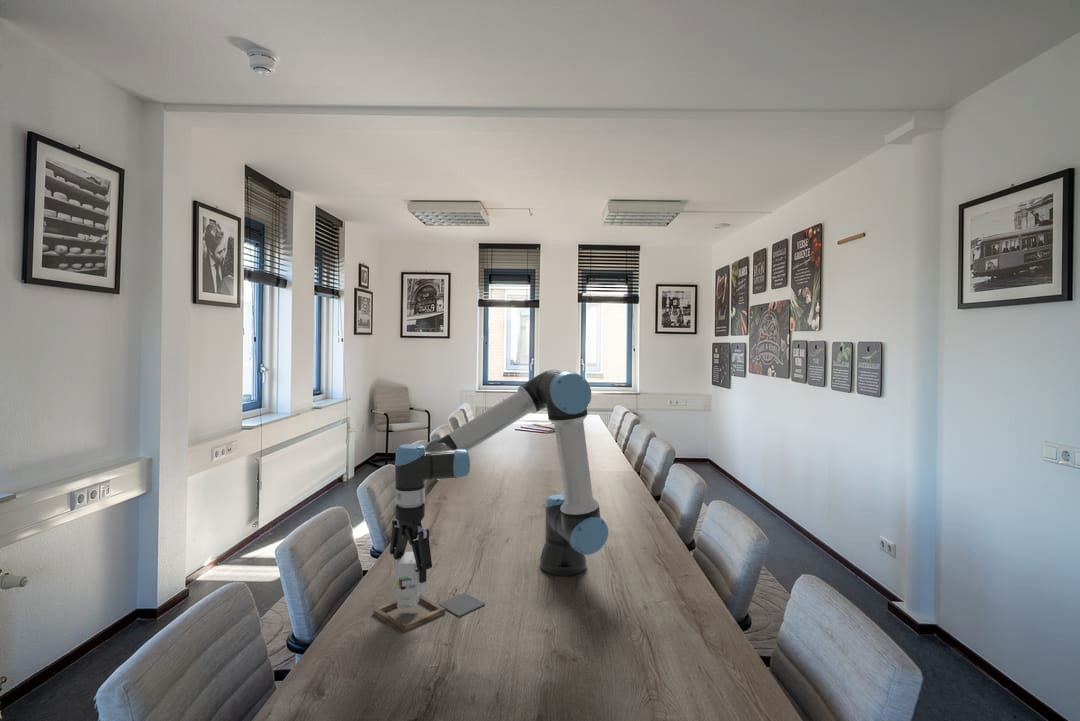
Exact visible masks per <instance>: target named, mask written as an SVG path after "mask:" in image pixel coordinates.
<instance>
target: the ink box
mask: <svg viewBox="0 0 1080 721" xmlns="http://www.w3.org/2000/svg"><path fill="white" fill-rule="evenodd" d="M404 553H405V554H404V555H403V556H402V558H401V559H400V561H399V562H398V563H397V584H396V598H397V599H396V600H397V607H396V608H397V609H416V607H417V606H418V603H419V599H420V597H421V595H422V596H423V594H421V595H418V596H416V595H415V570H417V565H416V561H415V557H414V553H413V551H405V552H404Z"/></svg>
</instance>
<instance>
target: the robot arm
mask: <svg viewBox="0 0 1080 721" xmlns="http://www.w3.org/2000/svg"><path fill="white" fill-rule="evenodd" d="M591 400H592V389H591V386H590V384H589V382H588V380H587V379H586V378H585V377H584V376H582V375H581V374H579V373H577V372H573V371H572V370H558V369H549V370H545V371H543V372H541V373H540V374H537V375H536V376H534V377H532V378H531V379H529V380H528V381H527V382H524V384H522V385H520V386H518V388H517V392H514V393H513V394H511V395H510V396H508V397H506V398H505V399H503V400H501V401H499V403H497V404H495V405H494V406H491V407H490V408H488V409H486V410H485V411H483V412H482V413H480V414H478V415H477V416H475V417H473V418H472V419H471V420H469V421H467V422H465V423H464V424H462V425H461V426H459V427H458V428H456V429H454V430H453V431H451V432H450V433H448V434H446V435H444V436H443V437H441V438H440V439H439V438H438V439H437V438H436V439H433V440H432V439H431V440H430V441H428V442H427V443H426V445H425V446H424V445H423V444H421V443H404V444H401V445H399V446H398V447H396V449H395V462H394V470H395V471H394V475H395V478H394V479H395V484H394V485H395V495H394V497H395V504H396V505H395V508H394V509H395V511H394V512H395V519H393V520H391V523H392V524H391V525H392V530H391V538H390V546H389V554H390V555H393V559H394V569H395V570H394V572H395V573H394V578H395V579H394V583H395V584H396V585H397V563H398V562H399V561H400V559H401V558H402V556H403V555H404V554H405V552H406V548H407V545H408V543H409V545H410V546H411V548H412V552H413V553H414V557H415V561H416V565H417V570H415V595H416V596H418V595H421V594H422V595H423V594H425V593H426V592H427V570H430V569H432V568H433V563H432V562H433V560H432V554H431V553H432V552H431V547H430V545H431V544H430V530H429V529H428V528H426V529H424V528H423V525H422V520H423V519H424V518H425V516H426V515H425V513H426V512H425V510H426V509H425V508H426V507H425V506H426V505H425V501H426V496H425V495H426V489H425V488H426V486H425V483H426V482H425V481H430V480H431V481H432V480H445V479H458V478H463V477H467V476H468V475H469V473H470V472H471V471H470V469H471V458H470V454H469V451H471V450H473V449H474V448H476V447H477V446H479V445H481V444H483V443H484V442H485V441H487V440H488V439H490V438H492V437H493V436H495V435H497V434H499V433H500V432H502V431H503V430H504V429H506V428H508V427H509V426H511V425H512V424H514V423H516V422H517V421H520V419H523V418H524V417H525V416H527V415H528V414H536V413H537V412H539V411H541V410H544V409H546V410H547V418H548V421H550V422H551V423H552V424H553V425H554V431H555V432H554V433H555V439H556V448H557V454H558V461H559V470H560V476H561V484H562V492H563V493H562V494H561V493H560V494H553V495H550V496H548V497H547V498H546V501H545V506H544V507H545V542H544V544H543V547H542V548H543V549H542V552H541V555H540V556H539V568H540V569H541V570H542V571H543V572H546V573H547V574H551V575H553V576H554V575H555V576H565V577H566V576H567V577H569V576H575V575H578V574H581V573H583V572H584V571H585V570H586V568H587V558H586V556H589V555H594V554H595V553H597V552H599V551H600V550H601V549H603V546H604V545H606V543H607V540H608V538H609V527H608V526H609V525H608V524H607V522H606V521H605V519H603V518H602V517H601V511H600V504H599V503H600V502H598V500H596V499H595V498H594V496H593V488H592V481H591V480H592V479H591V471H590V465H589V456H588V448H587V441H586V440H587V439H586V432H585V425H584V420H585V419H586V418H587V416H588V407H589V406H588V405H589V404H590V403H591Z"/></svg>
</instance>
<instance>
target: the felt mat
mask: <svg viewBox="0 0 1080 721" xmlns="http://www.w3.org/2000/svg"><path fill="white" fill-rule="evenodd" d="M438 605H440V606H441V607H443V608H445V611H448V612H450V613H451V614H453V615H455V616H456V617H458V618H460V617H463V616H465V615H467V614H469V613H471V612H473V611H475V610H478V609H479V608H482V607H483V606H486V603H485V602H483V601H481V600H480V599H477V598H475V597H473V596H471V595H470V594H467V592H466V593H465V592H463V593H460V594H459V595H456V596H453V597H451V598H449V599H446V600H445V601H441V602H440V603H438Z"/></svg>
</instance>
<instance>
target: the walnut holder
mask: <svg viewBox="0 0 1080 721" xmlns="http://www.w3.org/2000/svg"><path fill="white" fill-rule="evenodd" d="M418 603H421V604H422V605H424V606H426V607H427V608H430V609H431V610H433V611H430V612H429V613H426V614H423V615H421V616H420V617H419V616H418V617H417V618H414V619H413V620H411V621H407V622H406V623H401V622H399V621H398V620H397V619H395V618H394V617H392V616H391V615H389V614H388V613H386V612H387V611H390V610H393V609H394V608H397V599H396V600H393V601H391V602H388V603H385V604H383V605H380V606H378V607H375V608H373V609H372V613H373V615H375V616H376V617H377V618H378V619H380V620H381V621H383V622H384V623H386V624H388V625H389V626H390V627H392V628H394V629H395V630H397V632H399V633H401V634H403V633H405V632H408V631H409V630H412V629H414V628H416V627H418V626H420V625H423V624H424V623H427V622H429V621H432V620H434V619H435V618H437V617H440V616H442V615H444V614H446V609H445V608H443V607H441V606H440V605H439V603H436V602H434V601H433V600H431V599H430V598H427V597H426V596H424V595H423V594H422V595H421V597H420V599H419V601H418Z"/></svg>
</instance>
